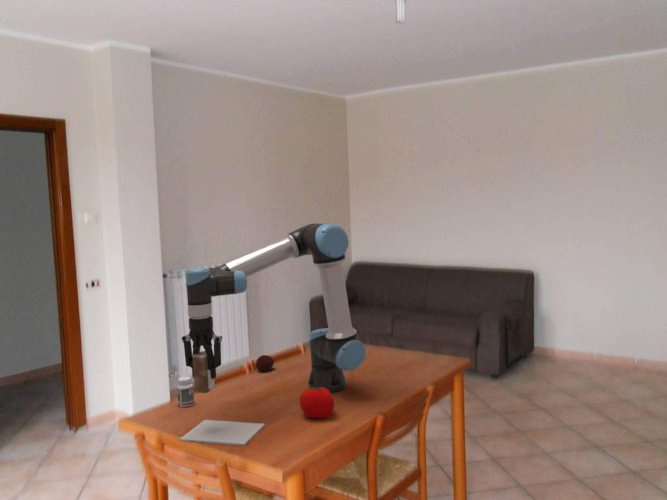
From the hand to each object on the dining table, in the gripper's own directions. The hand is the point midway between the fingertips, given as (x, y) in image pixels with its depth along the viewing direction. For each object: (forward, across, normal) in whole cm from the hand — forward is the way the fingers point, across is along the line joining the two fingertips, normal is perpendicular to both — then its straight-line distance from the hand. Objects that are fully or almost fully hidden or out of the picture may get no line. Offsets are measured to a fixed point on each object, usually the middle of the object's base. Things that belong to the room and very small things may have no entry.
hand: (205, 387), depth 189 cm
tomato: (+14, -32, -18) cm, 40 cm away
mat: (+14, -6, +1) cm, 16 cm away
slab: (+1, 0, 0) cm, 1 cm away
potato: (+14, +8, -66) cm, 68 cm away
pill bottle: (+15, +20, -21) cm, 33 cm away
